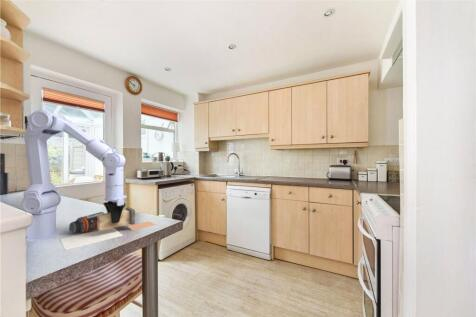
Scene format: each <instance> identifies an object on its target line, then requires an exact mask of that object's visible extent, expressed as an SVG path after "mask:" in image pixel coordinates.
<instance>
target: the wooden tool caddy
mask: <svg viewBox="0 0 476 317" xmlns="http://www.w3.org/2000/svg"><path fill="white" fill-rule="evenodd" d="M135 224H136V211H135V209H134V208H132V207H130V206H129V207H126V208H125V209H123V211H122V213H121V217H120V221H119V222H118V223H112V220H111V214H110V213H107V212H104V214H98V215H97V231H100V230H105V229H109V228H118V227H123V226H126V225H128V226H129V225H135Z"/></svg>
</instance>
